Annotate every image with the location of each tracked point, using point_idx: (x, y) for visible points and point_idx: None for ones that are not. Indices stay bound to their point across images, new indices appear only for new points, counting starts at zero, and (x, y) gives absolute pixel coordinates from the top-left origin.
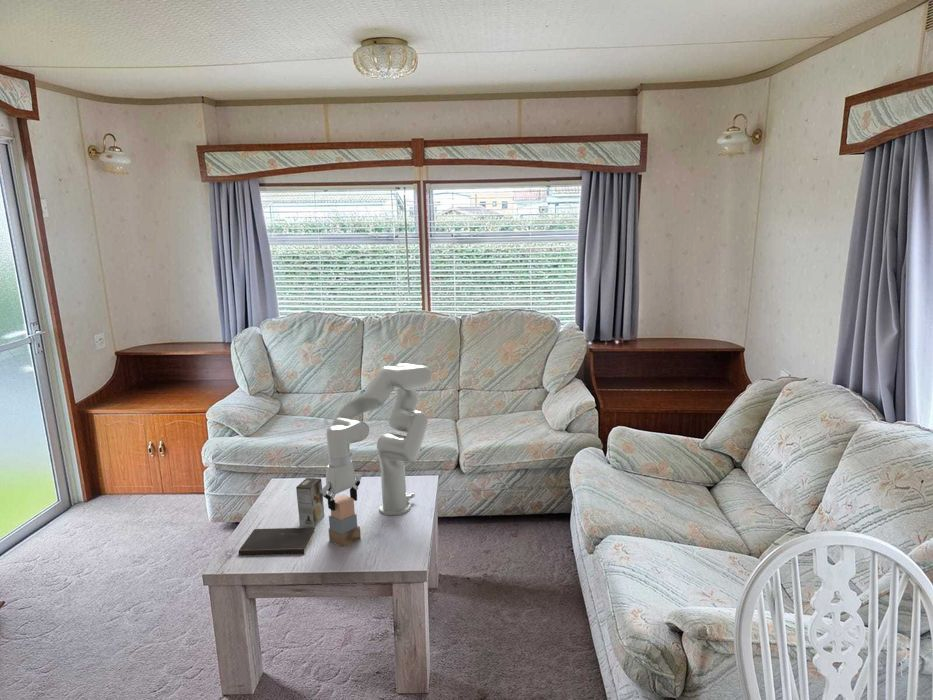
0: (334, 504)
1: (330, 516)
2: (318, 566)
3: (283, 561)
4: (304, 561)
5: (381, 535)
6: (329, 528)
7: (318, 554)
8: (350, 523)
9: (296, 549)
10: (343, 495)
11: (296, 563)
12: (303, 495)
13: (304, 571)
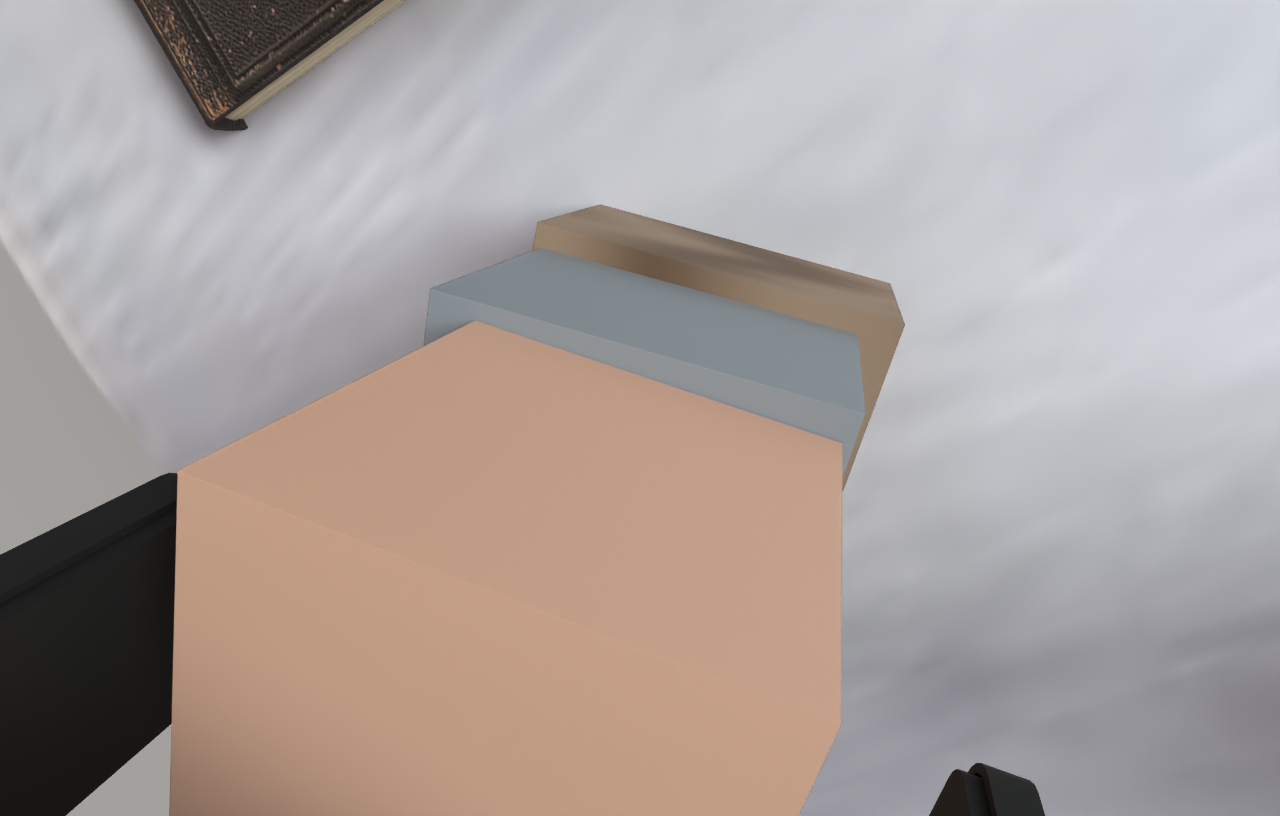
0: (42, 807)
1: (433, 338)
2: (195, 430)
3: (37, 17)
4: (166, 242)
5: (960, 720)
6: (546, 236)
7: (323, 290)
8: None
9: (155, 29)
10: (727, 767)
11: (100, 189)
12: None
13: (79, 362)
